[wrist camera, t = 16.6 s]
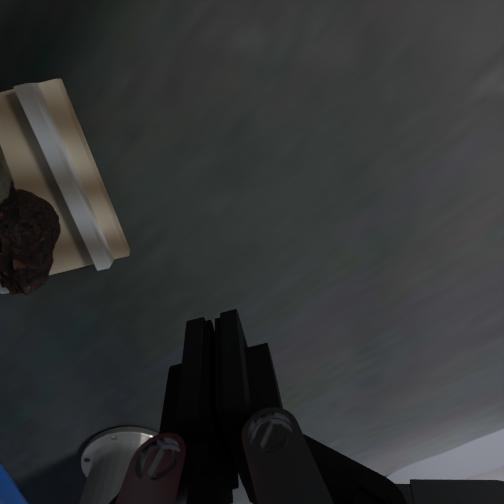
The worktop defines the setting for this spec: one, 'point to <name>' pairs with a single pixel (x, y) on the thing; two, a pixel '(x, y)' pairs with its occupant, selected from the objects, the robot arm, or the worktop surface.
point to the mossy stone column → (24, 235)
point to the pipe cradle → (60, 174)
